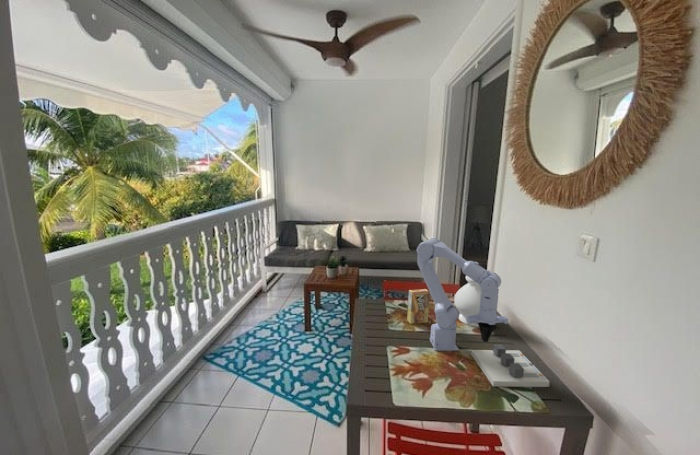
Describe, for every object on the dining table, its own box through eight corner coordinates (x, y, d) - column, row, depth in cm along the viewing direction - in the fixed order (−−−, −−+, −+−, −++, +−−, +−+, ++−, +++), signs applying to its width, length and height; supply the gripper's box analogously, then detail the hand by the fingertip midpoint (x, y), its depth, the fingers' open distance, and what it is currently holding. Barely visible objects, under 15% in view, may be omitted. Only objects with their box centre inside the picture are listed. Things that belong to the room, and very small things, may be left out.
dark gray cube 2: (505, 366, 100) (505, 358, 100) (500, 360, 103) (501, 353, 103) (513, 366, 100) (514, 358, 100) (508, 360, 103) (509, 353, 103)
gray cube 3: (513, 377, 95) (514, 369, 94) (508, 371, 98) (509, 363, 97) (522, 377, 95) (524, 369, 94) (517, 371, 98) (518, 363, 97)
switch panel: (493, 386, 94) (493, 380, 93) (471, 354, 110) (471, 349, 110) (548, 386, 94) (549, 381, 93) (518, 354, 110) (519, 349, 110)
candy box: (423, 318, 138) (425, 288, 135) (428, 322, 134) (430, 291, 131) (406, 320, 136) (408, 289, 133) (410, 324, 132) (412, 293, 129)
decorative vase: (486, 312, 144) (491, 265, 140) (498, 331, 127) (504, 278, 122) (449, 309, 147) (453, 263, 142) (456, 327, 130) (461, 275, 125)
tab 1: (497, 356, 106) (497, 349, 105) (493, 351, 108) (493, 344, 108) (505, 356, 106) (506, 349, 105) (500, 351, 108) (501, 344, 108)
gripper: (473, 311, 100) (469, 346, 102) (514, 311, 100) (510, 347, 102) (465, 302, 106) (462, 335, 109) (503, 302, 107) (499, 336, 109)
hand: (484, 340), depth 106 cm, fingers closed
